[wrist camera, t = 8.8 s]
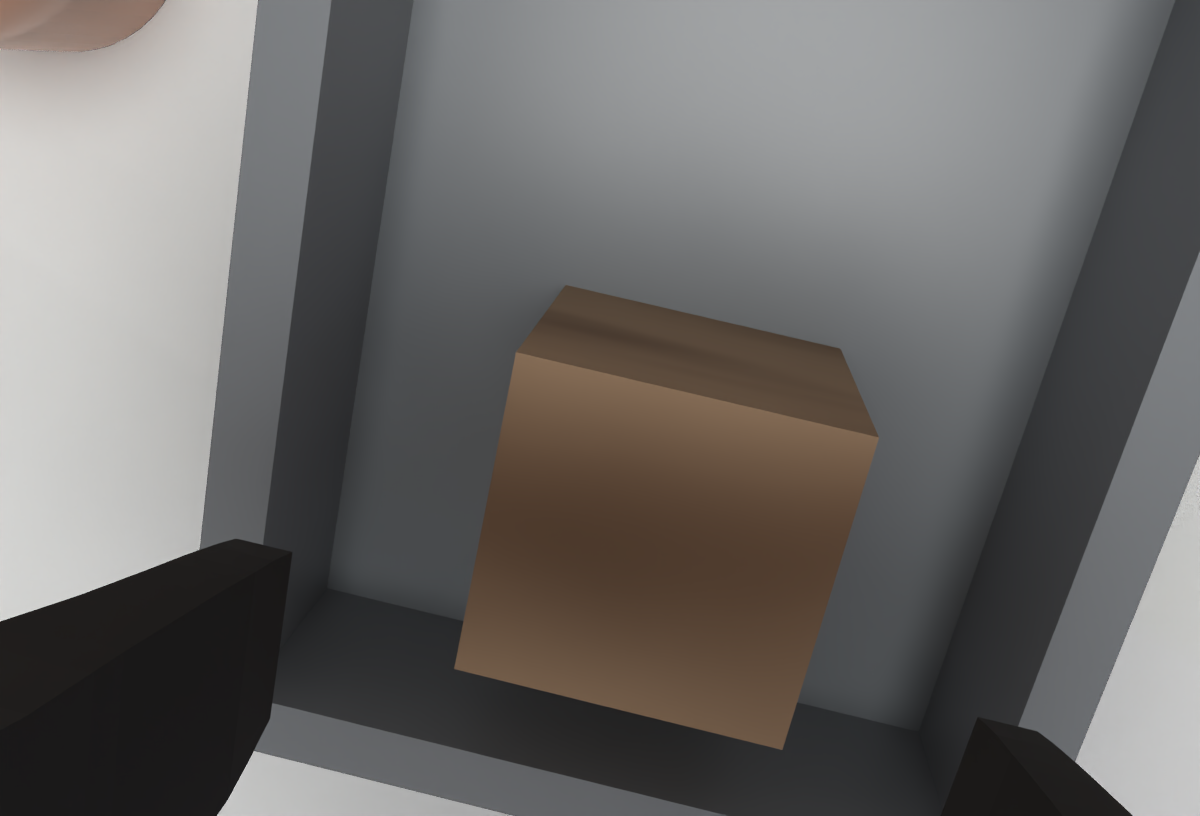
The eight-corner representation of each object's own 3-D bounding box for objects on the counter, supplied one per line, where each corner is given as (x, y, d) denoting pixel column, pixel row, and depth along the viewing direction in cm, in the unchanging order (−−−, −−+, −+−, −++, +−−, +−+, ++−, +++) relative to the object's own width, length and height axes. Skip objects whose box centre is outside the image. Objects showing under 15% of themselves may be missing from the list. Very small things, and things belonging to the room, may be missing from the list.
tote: (944, 756, 23) (1002, 937, 18) (291, 597, 23) (180, 732, 18) (1290, -203, 17) (1509, -309, 12) (425, -383, 18) (316, -550, 13)
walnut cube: (768, 596, 21) (782, 749, 16) (514, 535, 21) (453, 668, 16) (840, 348, 19) (879, 437, 15) (565, 284, 20) (516, 352, 15)
